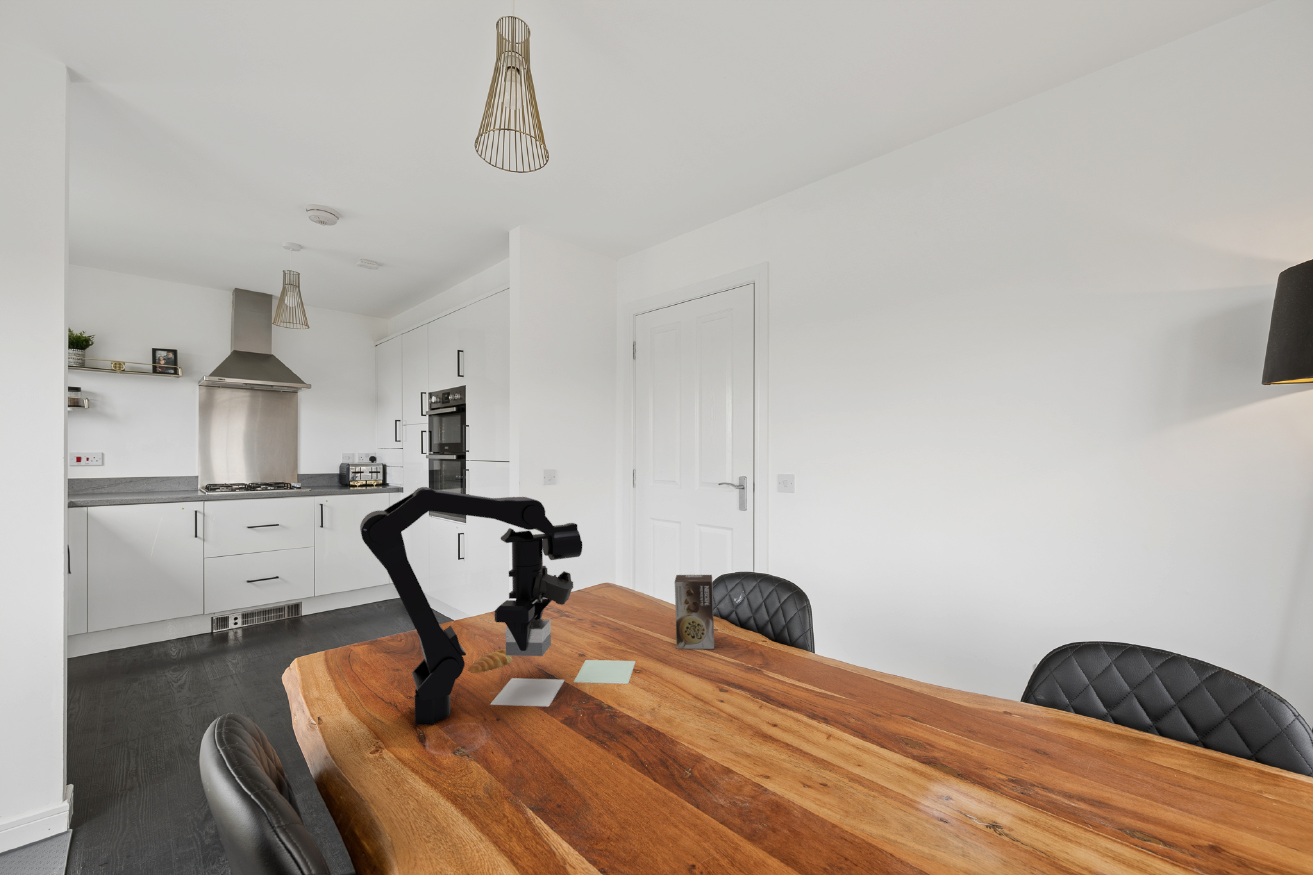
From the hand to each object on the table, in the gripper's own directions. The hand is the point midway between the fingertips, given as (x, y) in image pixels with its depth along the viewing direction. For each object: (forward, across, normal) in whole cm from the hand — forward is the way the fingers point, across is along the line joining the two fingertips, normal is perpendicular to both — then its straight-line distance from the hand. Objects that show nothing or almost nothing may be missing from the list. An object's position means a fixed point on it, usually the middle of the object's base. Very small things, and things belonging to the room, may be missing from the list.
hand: (528, 644), depth 105 cm
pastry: (+11, +12, +13) cm, 21 cm away
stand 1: (+10, 0, 0) cm, 10 cm away
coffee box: (+11, +30, -31) cm, 44 cm away
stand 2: (+10, +10, -13) cm, 19 cm away
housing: (+1, 0, 0) cm, 1 cm away
